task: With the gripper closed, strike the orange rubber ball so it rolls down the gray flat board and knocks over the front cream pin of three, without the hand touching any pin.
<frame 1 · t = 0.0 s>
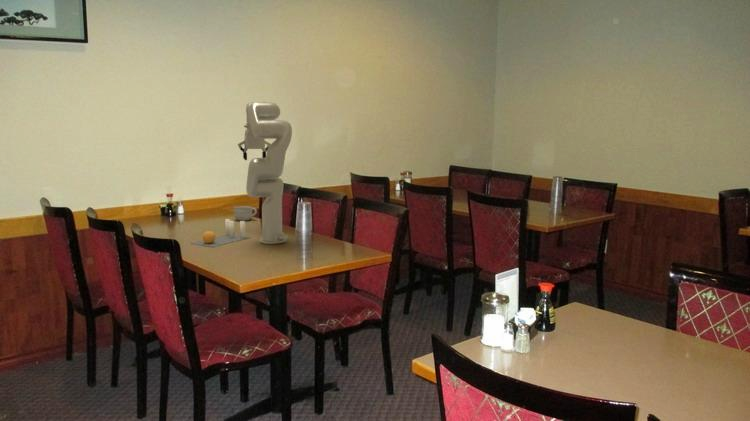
hand: (254, 159, 309), 37 cm above the table, tool pointing down, fingers open, 9 cm apart
back pin right: (228, 236, 297), on the table
teacup: (245, 220, 341), on the table
back pin left: (242, 238, 292), on the table
gray flat board: (221, 240, 287), on the table
ball: (209, 237, 279), on the table
front pin: (231, 238, 293), on the table
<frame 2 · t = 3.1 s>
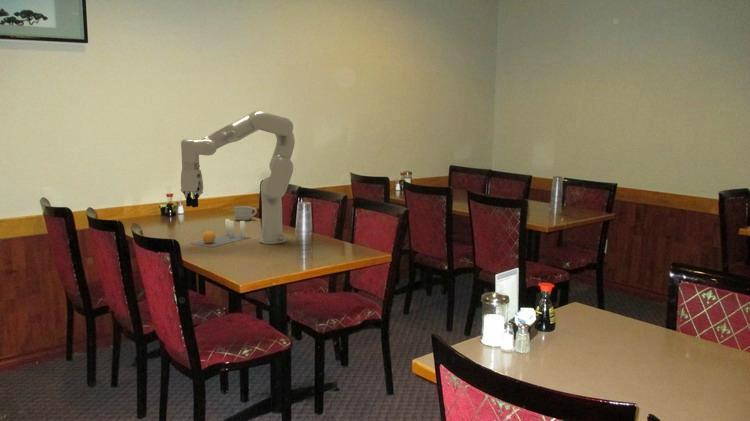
hand: (192, 206, 269), 19 cm above the table, tool pointing down, fingers open, 3 cm apart
nothing on the table moved.
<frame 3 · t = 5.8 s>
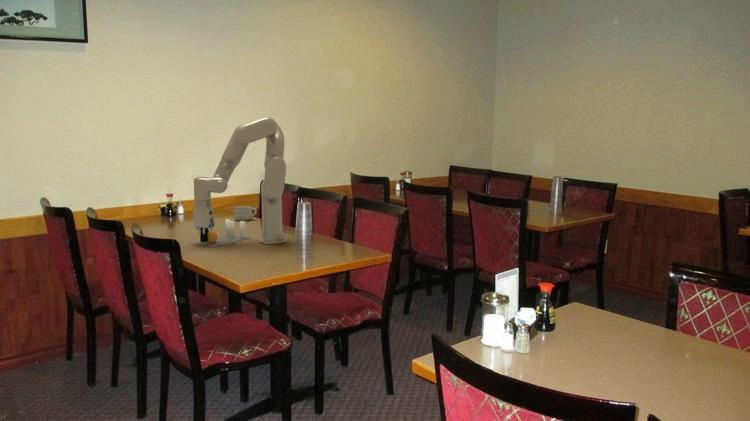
hand: (204, 241, 277), 1 cm above the table, tool pointing down, fingers closed
ball: (211, 236, 281), on the table, touching gripper
everything else where it was.
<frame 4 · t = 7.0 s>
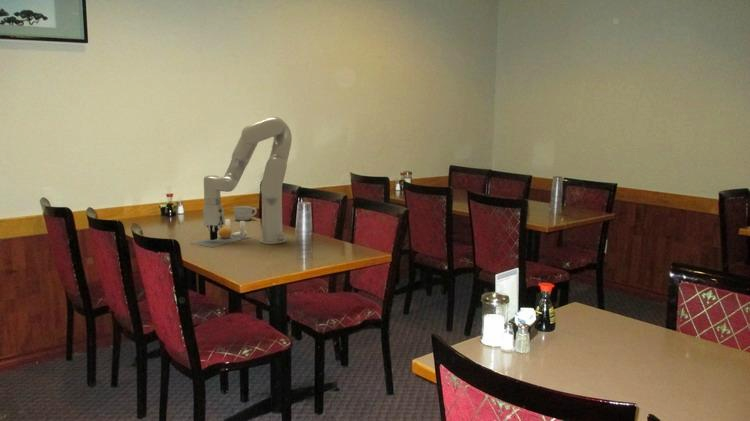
hand: (213, 239, 282), 1 cm above the table, tool pointing down, fingers closed
ball: (225, 232, 291), on the table
front pin: (233, 235, 294), point 1 cm above the table, tilted 90°
everything else where it was.
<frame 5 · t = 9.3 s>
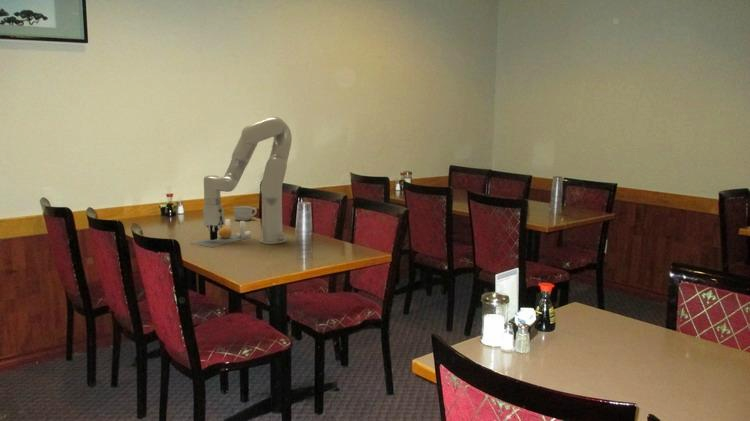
hand: (213, 239, 282), 1 cm above the table, tool pointing down, fingers closed
front pin: (237, 236, 292), point 1 cm above the table, tilted 90°
everything else where it was.
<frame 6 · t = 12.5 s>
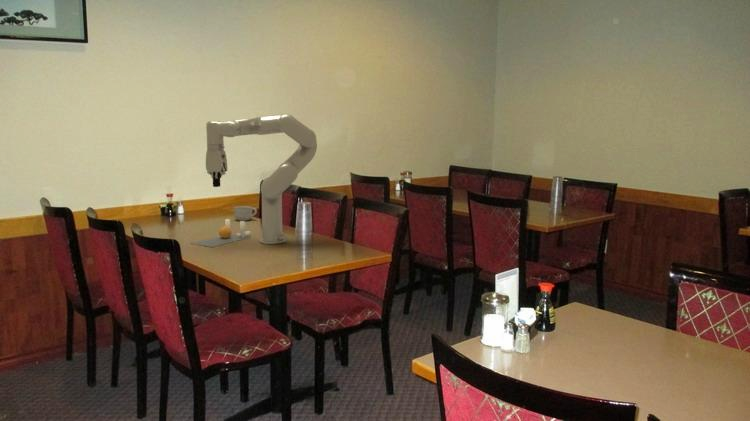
hand: (216, 186, 278), 27 cm above the table, tool pointing down, fingers closed
nothing on the table moved.
at the end: front pin tilted 90°; front pin never touched the robot; ball moved 12.7 cm from its start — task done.
